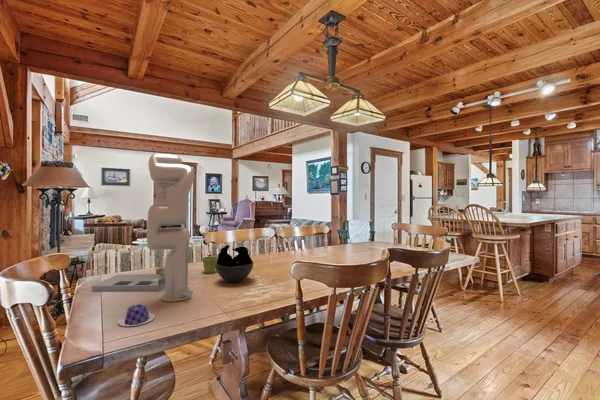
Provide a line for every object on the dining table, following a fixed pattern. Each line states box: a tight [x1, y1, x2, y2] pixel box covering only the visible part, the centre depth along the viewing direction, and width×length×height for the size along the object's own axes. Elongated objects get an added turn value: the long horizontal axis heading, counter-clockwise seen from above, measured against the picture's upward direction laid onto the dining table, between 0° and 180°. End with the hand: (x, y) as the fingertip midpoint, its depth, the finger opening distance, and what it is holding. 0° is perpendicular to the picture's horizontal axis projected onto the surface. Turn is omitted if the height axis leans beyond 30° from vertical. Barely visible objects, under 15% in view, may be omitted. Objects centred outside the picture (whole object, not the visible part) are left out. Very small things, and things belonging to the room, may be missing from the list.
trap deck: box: [91, 273, 165, 292], centre depth 153 cm, size 32×21×6 cm, turn 92°
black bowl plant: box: [215, 244, 254, 283], centre depth 160 cm, size 20×20×19 cm
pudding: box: [117, 304, 156, 327], centre depth 109 cm, size 12×12×5 cm
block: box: [155, 265, 165, 278], centre depth 158 cm, size 5×5×5 cm
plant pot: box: [201, 255, 218, 274], centre depth 178 cm, size 9×9×9 cm
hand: (163, 228), depth 170 cm, fingers closed
